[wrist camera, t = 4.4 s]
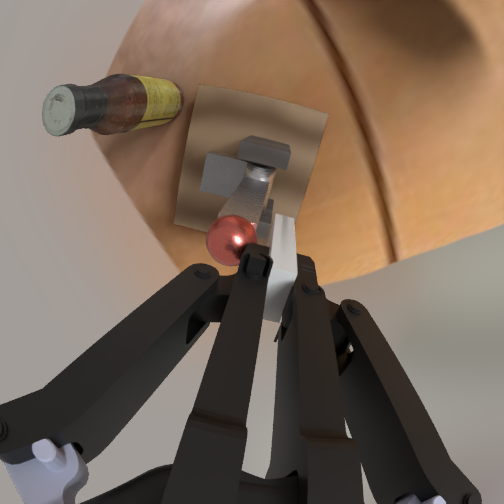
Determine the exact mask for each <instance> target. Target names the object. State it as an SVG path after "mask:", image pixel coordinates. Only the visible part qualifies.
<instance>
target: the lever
mask: <svg viewBox="0 0 504 504" xmlns="http://www.w3.org/2000/svg"><path fill="white" fill-rule="evenodd" d="M276 170H277V169H276V168H275V167H271V166H268V165H264V164H260V163H256V162H252V161H248V160H244V159H240V158H237V156H235V155H231V154H226V153H222V152H217V151H213V150H212V151H210V152H208V153H207V155H206V160H205V165H204V171H203V176H202V181H201V186H200V191H203V192H207V193H211V194H215V195H219V196H223V197H227V198H229V200H228V201H227V202H226V204H225V205H224V207H223V208H222V209H221V211H220V212H219V214H218V218H217V220H216V221H214V222H213V224H212V225H211V226H210V228H209V230H208V232H207V236H206V245H207V249H208V251H209V253H210V255H211V256H212V258H213V259H214V260H216V261H217V262H218V263H220V264H222V265H225V266H238V265H239V263H240V259H241V255H242V253H243V252H244V251H245V248H246V246H247V245H248V244H250V243H251V242H252V243H256V244H257V243H258V238H257V233H256V229H257V226H258V222H259V219H260V215H263V214H264V213H265V210H266V206H267V203H268V199H269V195H270V192H271V188H272V184H273V181H274V177H275V173H276Z"/></svg>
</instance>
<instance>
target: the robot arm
mask: <svg viewBox="0 0 504 504" xmlns="http://www.w3.org/2000/svg"><path fill="white" fill-rule="evenodd" d="M281 316H282V322H281V325H280V327H279V330H278V332H277V335H276V337H275V340H274V342H276V341H277V339H278V353H277V372H276V390H275V406H274V421H273V436H272V448H271V449H272V450H271V460H270V466H269V469H268V471H267V474H266V477H265V479H263V478H260V477H257V476H254V475H252V474H249V473H246V472H244V471H242V470H241V469H242V464H243V458H244V453H245V446H246V441H247V428H246V420H247V414H248V407H249V402H250V396H251V389H252V383H253V377H254V371H255V365H256V358H257V352H258V346H259V339H260V333H261V326H262V319H265V320H269V321H274V322H278V323H279V321H280V319H281ZM210 322H221V323H220V327H219V329H218V332H217V336H216V338H215V342H214V345H213V348H212V351H211V354H210V357H209V360H208V363H207V366H206V369H205V372H204V375H203V379H202V382H201V385H200V388H199V391H198V394H197V397H196V400H195V403H194V407H193V410H192V412H191V414H190V415H189V417H188V420H187V423H186V425H185V429H184V432H183V435H182V438H181V441H180V444H179V447H178V450H177V454H176V457H175V460H174V463H173V464H169V465H164V466H160V467H156V468H154V469H151V470H149V471H147V472H145V473H143V474H141V475H140V476H137V477H136V478H134V479H132V480H130V481H128V482H126V483H124V484H122V485H120V486H118V487H116V488H114V489H112V490H110V491H108V492H105V493H103V494H101V495H99V496H96V497H94V498H92V499H90V500H87V501H85V502H82V503H80V504H365V503H364V498H363V484H362V473H361V464H362V467H363V470H364V472H365V475H366V478H367V481H368V484H369V487H370V489H371V492H372V494H373V497H374V499H375V501H376V502H377V504H482V503H481V502H482V499H481V495H480V493H479V491H478V490H477V488H476V487H475V486H474V485H473V484H472V483H471V482H470V481H469V479H468V478H467V477H466V476H465V475H464V474H463V473H462V472H461V471H460V469H459V468H458V467H457V466H456V465H455V464H454V463H453V461H451V459H450V457H449V455H448V453H447V450H446V448H445V447H444V444H443V442H442V440H441V438H440V436H439V434H438V432H437V430H436V428H435V426H434V424H433V423H432V421H431V418H430V416H429V415H428V413H427V411H426V409H425V407H424V405H423V403H422V401H421V400H420V398H419V396H418V394H417V392H416V391H415V389H414V387H413V386H412V383H411V382H410V380H409V378H408V376H407V375H406V373H405V371H404V369H403V368H402V366H401V364H400V362H399V361H398V359H397V357H396V356H395V354H394V352H393V351H392V349H391V348H390V346H389V344H388V342H387V341H386V339H385V337H384V336H383V334H382V333H381V331H380V330H379V328H378V326H377V325H376V323H375V321H374V320H373V318H372V317H371V315H370V314H369V312H368V311H367V309H366V308H365V307H364V306H363V305H362V304H360V303H359V302H358V301H355V300H350V299H346V300H343V301H342V302H341V304H340V305H338V304H335V303H333V302H331V301H329V300H328V299H326V297H325V292H324V290H323V289H322V288H321V287H320V286H319V285H318V283H317V276H316V270H315V264H314V262H313V260H312V259H311V258H310V257H308V256H304V255H301V254H297V253H296V239H295V225H294V218H291V217H287V216H284V215H280V214H275V217H274V221H273V225H272V228H271V232H270V235H269V239H268V242H267V246H263V245H259V244H256V243H252V242H251V243H250V244H248V245H247V246H246V248H245V251H244V252H243V253H242V255H241V259H240V263H239V268H238V272H237V273H236V274H233V275H229V276H219V272H218V271H217V269H216V268H214V267H212V266H210V265H207V264H202V263H198V264H193V265H191V266H189V267H188V268H186V269H185V270H184V271H183V272H181V273H180V274H179V275H178V276H176V277H175V278H174V279H173V280H171V281H170V282H169V283H168V284H166V285H165V286H164V287H163V288H161V289H160V290H159V291H157V292H156V293H155V294H154V295H153V296H151V297H150V298H149V299H148V300H146V301H145V302H144V303H143V304H142V305H140V306H139V307H138V308H137V309H136V310H134V311H133V312H132V313H130V314H129V315H128V316H127V317H126V318H125V319H123V320H122V321H121V322H120V323H119V324H117V325H116V326H115V327H114V328H112V329H111V330H110V331H109V332H108V333H106V334H105V335H104V336H103V337H102V338H100V339H99V340H98V341H97V342H96V343H95V344H93V345H92V346H91V347H90V348H89V349H87V350H86V351H85V352H84V353H83V354H82V355H80V356H79V357H78V358H77V359H76V360H75V361H73V362H72V363H71V364H70V365H69V366H68V367H66V369H64V370H63V371H62V372H61V373H60V374H58V376H56V377H55V378H54V379H53V380H52V381H51V382H49V383H48V384H47V385H46V386H45V387H44V388H43V389H40V390H38V391H35V392H33V393H30V394H28V395H25V396H22V397H20V398H17V399H15V400H12V401H9V402H7V403H4V404H2V405H0V459H1V460H2V461H3V462H4V464H5V466H6V468H7V470H8V473H9V475H10V477H11V479H12V481H13V483H14V485H15V487H16V489H17V491H18V493H19V495H20V496H21V498H22V500H23V502H24V504H75V496H76V494H77V492H78V491H79V490H80V489H81V488H82V487H83V486H84V485H85V484H86V483H87V480H88V476H89V473H88V468H87V466H86V464H87V463H89V462H90V461H91V460H93V459H94V458H95V457H97V456H98V455H99V454H100V453H101V452H102V451H103V450H104V449H105V448H106V447H107V446H108V445H109V444H110V443H111V442H112V441H113V440H114V438H115V437H116V436H117V435H118V434H119V433H120V431H121V430H122V429H123V428H124V427H125V425H126V424H127V423H128V422H129V421H130V420H131V419H132V417H133V416H134V415H135V414H136V412H137V411H138V410H139V409H140V408H141V407H142V406H143V404H144V403H145V402H146V401H147V400H148V398H149V397H150V396H151V395H152V394H153V392H154V391H155V390H156V389H157V388H158V387H159V385H160V384H161V383H162V382H163V381H164V379H165V378H166V377H167V376H168V375H169V373H170V372H171V371H172V370H173V369H174V367H175V366H176V365H177V364H178V362H179V361H180V360H181V359H182V358H183V357H184V355H185V354H186V353H187V352H188V351H189V349H190V348H191V347H192V346H193V345H194V343H195V342H196V341H197V340H198V339H199V337H200V336H201V335H202V334H203V333H204V331H205V330H206V329H207V328H208V326H209V324H210ZM350 345H352V347H353V351H352V352H351V351H350V349H349V347H350ZM344 417H345V419H344ZM345 420H346V423H347V425H348V428H349V431H350V434H351V436H352V439H351V438H348V437H347V434H346V428H345ZM360 461H361V462H360Z"/></svg>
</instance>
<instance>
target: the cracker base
mask: <svg viewBox="0 0 504 504" xmlns="http://www.w3.org/2000/svg"><path fill="white" fill-rule="evenodd" d="M328 115H329V114H327V113H324V112H321V111H317V110H314V109H311V108H308V107H304V106H301V105H297V104H294V103H290V102H286V101H282V100H278V99H274V98H270V97H266V96H262V95H257V94H252V93H248V92H243V91H238V90H232V89H227V88H221V87H215V86H208V85H201V84H199V86H198V90H197V95H196V99H195V103H194V108H193V112H192V117H191V122H190V127H189V132H188V137H187V142H186V147H185V153H184V158H183V164H182V170H181V176H180V182H179V189H178V195H177V202H176V210H175V217H174V224H176V225H180V226H184V227H188V228H192V229H196V230H200V231H203V232H208V230H209V228H210V226H211V225H212V224H213V222H214V221H216V220H217V218H218V214H219V212H220V211H221V209H222V208H223V207H224V205H225V204H226V202H227V201H228V200H229V198H227V197H223V196H219V195H215V194H211V193H207V192H203V191H200V186H201V181H202V176H203V171H204V165H205V160H206V155H207V153H208V152H210V151H212V150H213V151H217V152H222V153H226V154H231V155H235V156H237V158H240V159H244V160H248V161H252V162H256V163H260V164H264V165H268V166H271V167H275V168H276V169H277V170H276V173H275V177H274V181H273V184H272V188H271V192H270V195H269V199H268V203H267V206H266V210H265V213H264V214H263V215H260V219H259V222H258V226H257V229H256V233H257V238H258V243H257V244H259V245H263V246H267V242H268V239H269V235H270V232H271V228H272V225H273V221H274V217H275V214H280V215H284V216H287V217H291V218H294V225H295V224H296V221H297V217H298V214H299V211H300V208H301V205H302V202H303V199H304V195H305V192H306V189H307V186H308V183H309V179H310V176H311V173H312V169H313V166H314V163H315V160H316V156H317V153H318V150H319V146H320V143H321V139H322V136H323V132H324V129H325V126H326V122H327V119H328Z"/></svg>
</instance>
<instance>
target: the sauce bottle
mask: <svg viewBox="0 0 504 504" xmlns="http://www.w3.org/2000/svg"><path fill="white" fill-rule="evenodd" d="M183 102H184V97H183V93H182V91H181V89H180V88H179V87H178V85H176V84H175V83H173V82H170V81H168V80H165V79H160V78H153V77H146V76H137V75H130V74H115V75H111V76H108V77H106V78H104V79H102V80H100V81H98V82H96V83H94V84H92V85H88V86H77V85H74V84H66V85H60V86H57V87H55V88H54V89H53V90H51V91H50V93H49V94H48V95H47V97H46V99H45V101H44V104H43V110H42V118H43V125H44V127H45V129H46V130H47V132H48V133H49V134H51V135H53V136H62V135H67V134H70V133H73V132H74V131H75V130H77V129H82V128H86V129H87V128H89V129H91V130H93V131H95V132H97V133H99V134H102V135H110V134H115V133H119V132H120V133H121V132H128V131H132V130H137V129H142V128H146V127H151V126H157V125H162V124H165V123H167V122H169V121H171V120H173V119H174V118H176V117H177V116H178V115H179V113H180V112H181V110H182V106H183Z"/></svg>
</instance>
